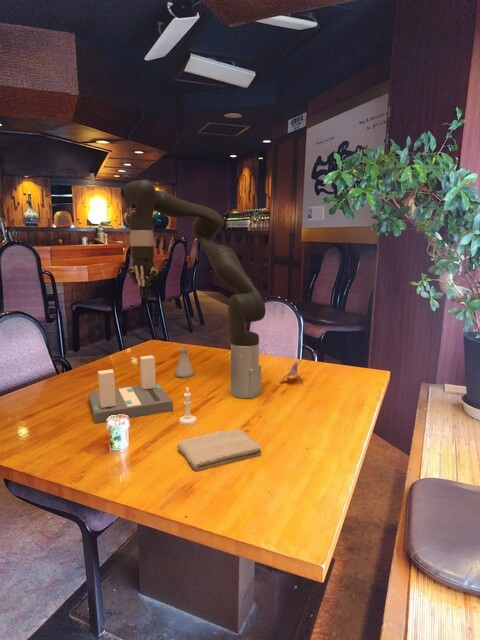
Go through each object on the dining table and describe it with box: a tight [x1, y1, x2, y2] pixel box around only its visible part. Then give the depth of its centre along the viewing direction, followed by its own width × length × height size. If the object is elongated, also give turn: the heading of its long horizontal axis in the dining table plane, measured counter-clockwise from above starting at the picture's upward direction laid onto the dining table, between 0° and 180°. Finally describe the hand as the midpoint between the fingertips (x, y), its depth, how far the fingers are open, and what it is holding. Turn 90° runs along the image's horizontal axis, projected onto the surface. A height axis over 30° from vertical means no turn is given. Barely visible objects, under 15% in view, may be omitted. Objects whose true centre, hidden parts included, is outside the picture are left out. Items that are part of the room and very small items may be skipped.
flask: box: [173, 348, 195, 379], centre depth 160 cm, size 7×7×10 cm
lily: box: [279, 359, 304, 384], centre depth 153 cm, size 11×11×9 cm
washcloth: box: [176, 429, 262, 472], centre depth 104 cm, size 12×18×3 cm, turn 118°
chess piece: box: [178, 386, 197, 426], centre depth 120 cm, size 5×5×10 cm
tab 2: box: [139, 355, 157, 390], centre depth 138 cm, size 3×4×10 cm
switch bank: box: [87, 382, 174, 424], centre depth 132 cm, size 18×22×3 cm
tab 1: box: [97, 368, 116, 408], centre depth 123 cm, size 3×4×10 cm
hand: (144, 297), depth 144 cm, fingers closed
